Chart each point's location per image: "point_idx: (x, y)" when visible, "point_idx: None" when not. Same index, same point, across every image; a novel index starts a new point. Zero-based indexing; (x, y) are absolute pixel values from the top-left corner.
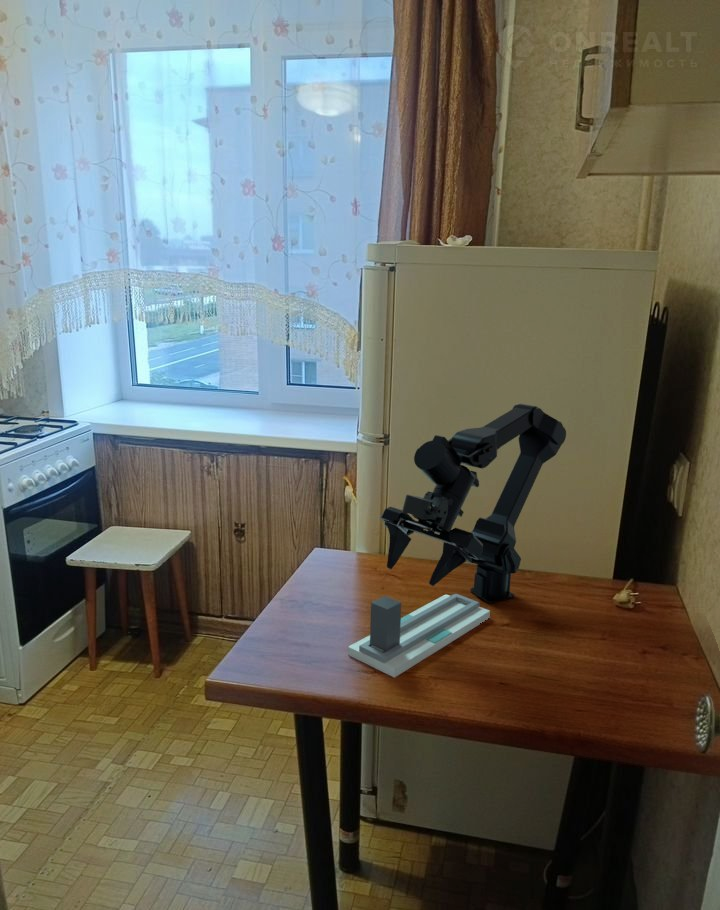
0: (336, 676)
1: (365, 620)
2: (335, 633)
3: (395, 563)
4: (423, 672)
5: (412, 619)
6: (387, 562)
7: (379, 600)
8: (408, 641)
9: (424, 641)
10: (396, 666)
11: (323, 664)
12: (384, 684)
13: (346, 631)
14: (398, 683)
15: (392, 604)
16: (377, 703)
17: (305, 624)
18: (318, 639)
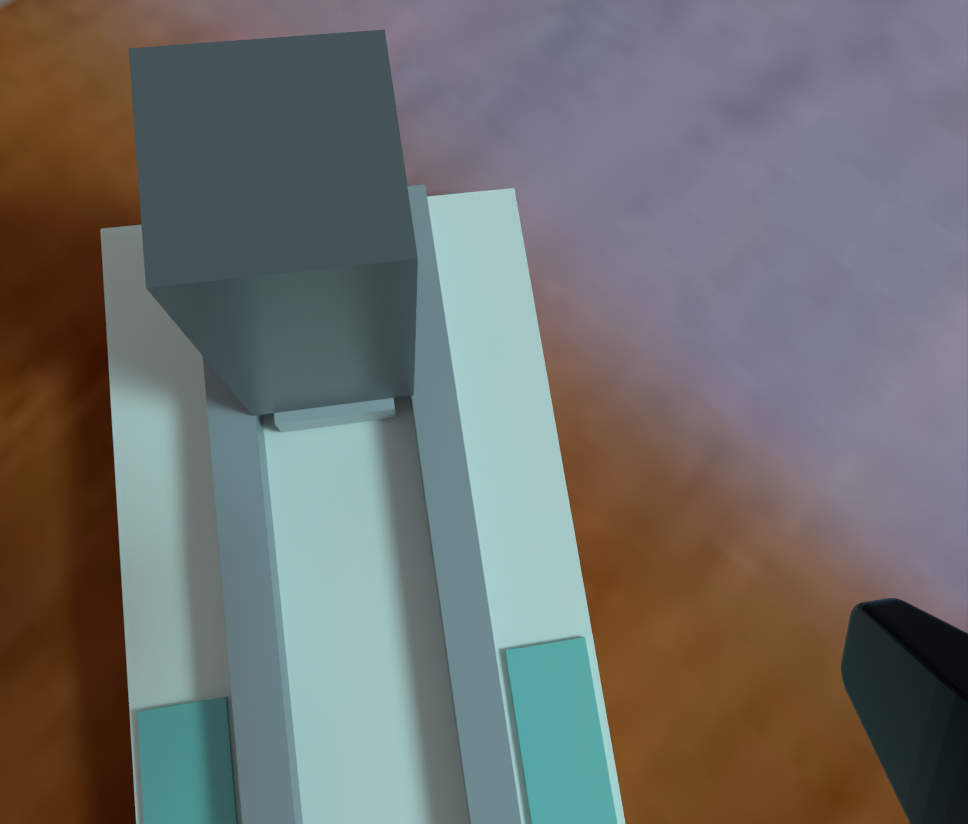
0: (363, 29)
1: (812, 603)
2: (769, 323)
3: (911, 816)
4: (30, 439)
5: (483, 792)
6: (955, 631)
7: (360, 127)
8: (237, 498)
9: (219, 664)
10: (115, 260)
11: (509, 53)
12: (113, 166)
13: (752, 394)
14: (60, 233)
15: (178, 168)
16: (6, 20)
17: (965, 251)
18: (762, 199)
